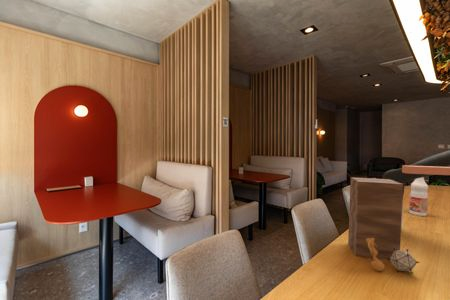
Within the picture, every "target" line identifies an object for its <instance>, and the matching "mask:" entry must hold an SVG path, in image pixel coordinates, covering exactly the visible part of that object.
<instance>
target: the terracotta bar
mask: <svg viewBox="0 0 450 300" xmlns="http://www.w3.org/2000/svg"><path fill="white" fill-rule="evenodd" d="M401 168H402V172H403V173H409V174H433V175H432V176H435V175H437V176H450V167H435V166H410V165H402V166H401Z"/></svg>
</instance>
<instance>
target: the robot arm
mask: <svg viewBox="0 0 450 300" xmlns="http://www.w3.org/2000/svg"><path fill="white" fill-rule="evenodd" d="M409 166H435V167H450V149H449V150H446V151H442V152H440V153H437V154H434V155H430V156H427V157H426V158H423V159H421V160H418V161H416V162H415V163H414V162H413V164H410V165H409ZM430 176H434V175H433V174H409V173H403V172H402V167H400V168H397V169H390V170H387V171H385V172H384V174H383V175H382V179H390V180H393V181H396V182H399V183H401V184H403V197H402V213H403V211H404V210H403V206H404V194H405V184H406V183H408V182H410V181H413V180H415V179H417V178H422V177H424V178H426V177H430ZM402 227H403V218H402V219H401V230H402Z"/></svg>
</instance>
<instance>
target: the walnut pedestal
mask: <svg viewBox="0 0 450 300" xmlns="http://www.w3.org/2000/svg"><path fill="white" fill-rule="evenodd" d="M349 183H350V187H349V207H348V208H349V211H348V213H349V214H348V238H347V239H348V243H347V244H348V246H349V247H350V249H351V251H352V253H353V254H354V256H355V257H360V258H366V259H367V258H369V259H374V258H373V255H374V253H373V255H372V254H371V251H370V249H369V247H368V243H367V241H366V239H367V238H374V240H375V241H374V243H375V244H376V246H377V247H376V246H375V245H374V248H375V249H376V250H377V251H378V254H377V255H376V257H377V258H378V259H379V260H380V261H382V260H383V261H387V262H388V261H389V262H391V261H390V257H391V255H392V254H393V252H394V249H393V248H395V250H401V237H402V236H401V235H402V234H401V233H402V229H401V219H402V220H403V212H402V197H403V198H404V195H403V184H401V183H399V182H396V181H393V180H390V179H383V178H374V177H373V178H369V177H354V176H353V177H350V182H349ZM387 258H389V260H388V259H387Z"/></svg>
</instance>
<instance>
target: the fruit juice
mask: <svg viewBox="0 0 450 300" xmlns="http://www.w3.org/2000/svg"><path fill="white" fill-rule="evenodd" d="M410 189H411V190H410V192H409V205H408V206H409V207H408V209H409V210H408V211H409V214H411V215H414V216H420V217H426V216H427V215H428V203H429V193H428V190H429V185H428V184H427V183H426V181H425V177H422V178H417V179H414V181H412V183H410Z"/></svg>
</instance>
